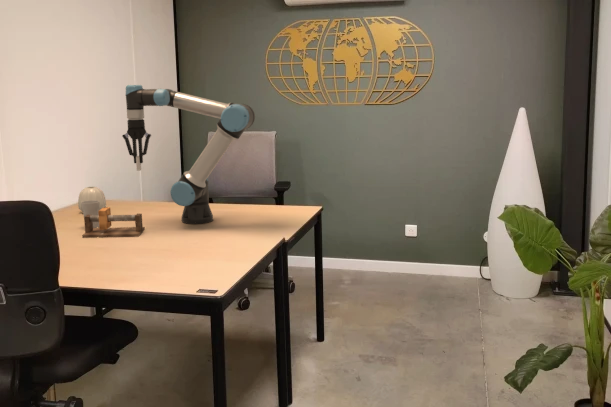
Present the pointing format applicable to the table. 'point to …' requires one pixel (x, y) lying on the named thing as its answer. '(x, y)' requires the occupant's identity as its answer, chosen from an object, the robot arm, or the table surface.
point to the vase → (92, 196)
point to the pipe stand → (113, 232)
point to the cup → (91, 209)
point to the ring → (104, 218)
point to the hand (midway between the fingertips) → (139, 170)
